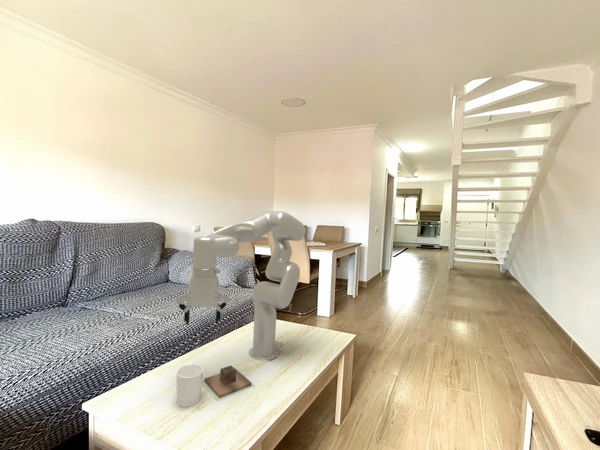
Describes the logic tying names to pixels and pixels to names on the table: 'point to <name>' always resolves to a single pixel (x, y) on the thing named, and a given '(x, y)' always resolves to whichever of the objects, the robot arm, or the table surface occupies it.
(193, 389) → the white cup
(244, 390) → the mat
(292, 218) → the robot arm
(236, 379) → the lid
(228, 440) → the table surface
